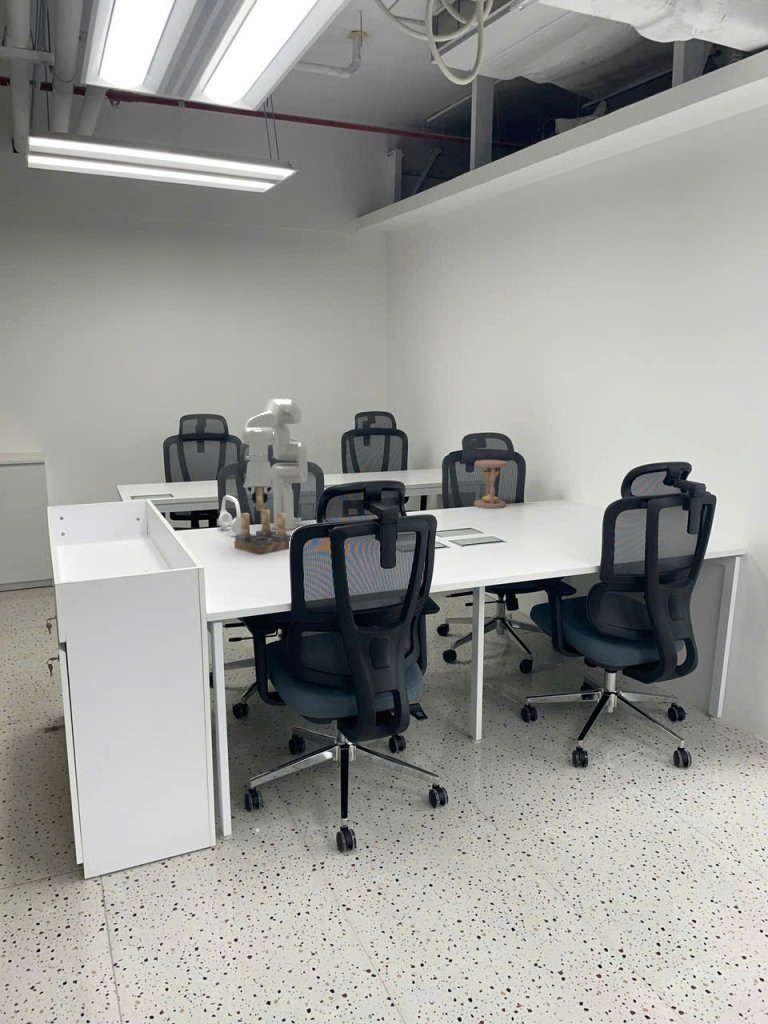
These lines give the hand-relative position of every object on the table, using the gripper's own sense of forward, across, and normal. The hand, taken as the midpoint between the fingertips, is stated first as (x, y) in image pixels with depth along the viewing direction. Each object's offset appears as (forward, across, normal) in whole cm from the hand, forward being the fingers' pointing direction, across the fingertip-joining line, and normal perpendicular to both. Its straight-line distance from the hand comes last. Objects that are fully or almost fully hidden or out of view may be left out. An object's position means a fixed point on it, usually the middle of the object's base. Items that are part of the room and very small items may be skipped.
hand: (260, 502), depth 314 cm
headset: (+21, -19, +37) cm, 47 cm away
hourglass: (+20, +114, +105) cm, 156 cm away
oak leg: (+3, 0, 0) cm, 3 cm away
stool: (+21, 0, +8) cm, 23 cm away
